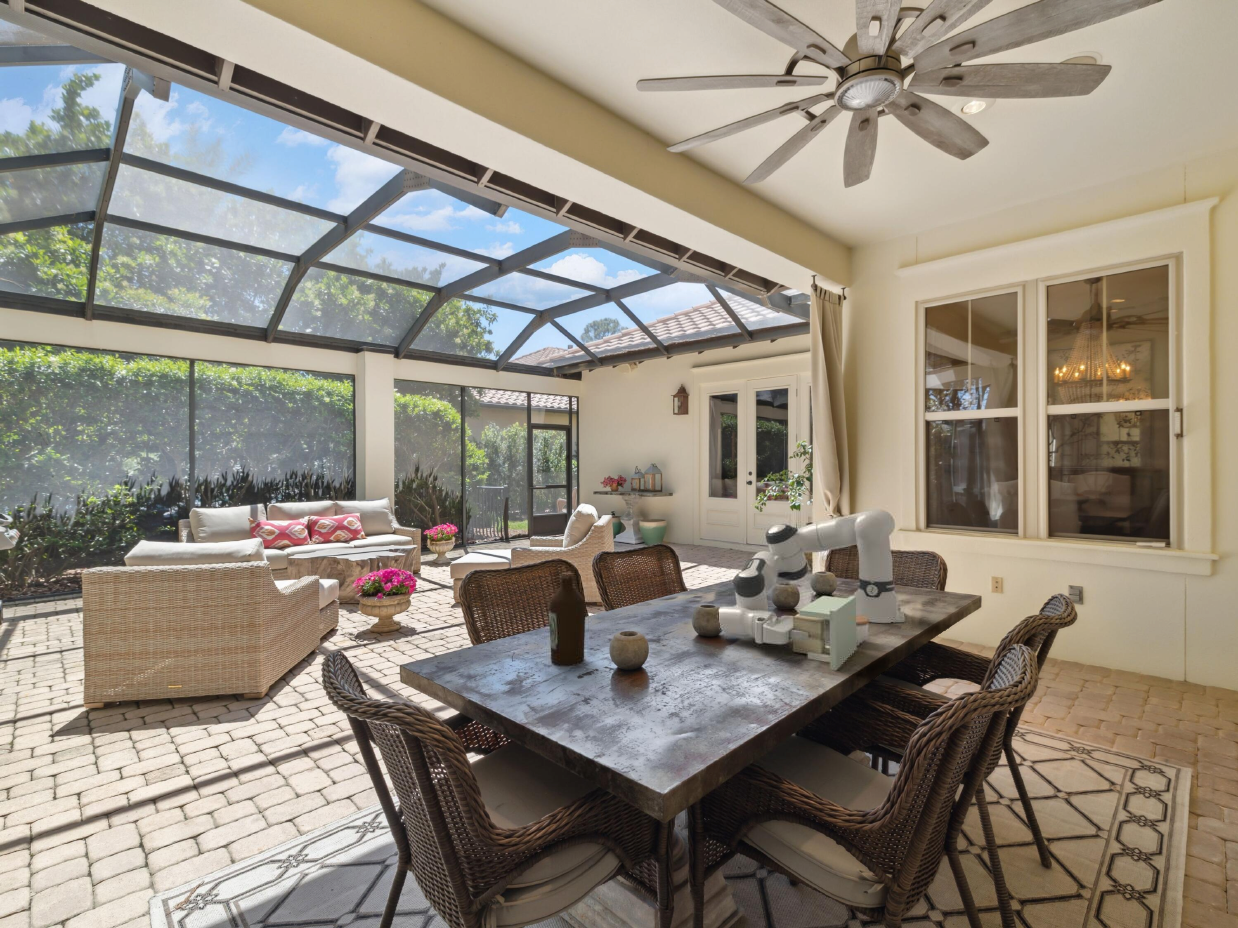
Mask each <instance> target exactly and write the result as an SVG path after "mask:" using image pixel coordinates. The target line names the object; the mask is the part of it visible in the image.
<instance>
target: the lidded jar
mask: <svg viewBox="0 0 1238 928" xmlns="http://www.w3.org/2000/svg"><path fill="white" fill-rule="evenodd" d="M869 623H870V622H869V619H868V618H866V617H864V616H861V615H856V635H857V646H859V645H858V644H860V643H861V644H862V643H863V642H864V641H865V640H866V638H867V636H868V633H869ZM861 644H860V645H861Z"/></svg>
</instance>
